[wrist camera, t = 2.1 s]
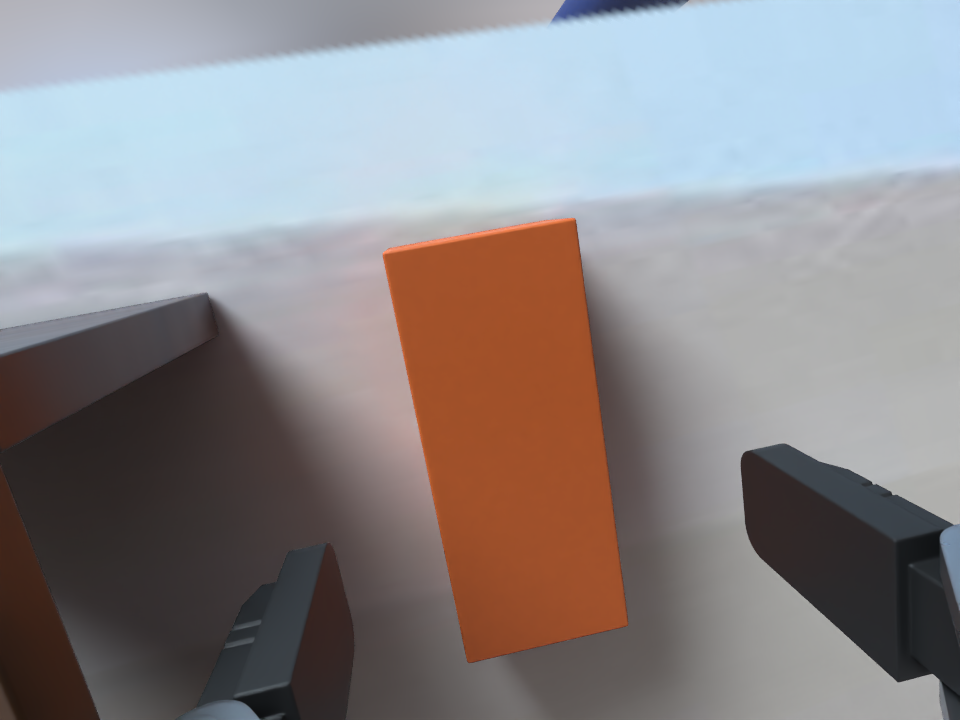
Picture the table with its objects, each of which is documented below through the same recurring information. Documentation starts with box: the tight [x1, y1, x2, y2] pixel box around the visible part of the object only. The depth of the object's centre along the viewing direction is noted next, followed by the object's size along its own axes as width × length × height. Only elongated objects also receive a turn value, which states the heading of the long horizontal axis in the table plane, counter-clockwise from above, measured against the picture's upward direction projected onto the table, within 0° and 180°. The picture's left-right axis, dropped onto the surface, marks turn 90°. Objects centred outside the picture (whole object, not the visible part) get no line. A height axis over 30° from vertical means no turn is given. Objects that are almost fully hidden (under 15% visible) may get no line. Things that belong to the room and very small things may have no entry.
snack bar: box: [383, 218, 628, 663], centre depth 16 cm, size 11×4×3 cm, turn 10°
